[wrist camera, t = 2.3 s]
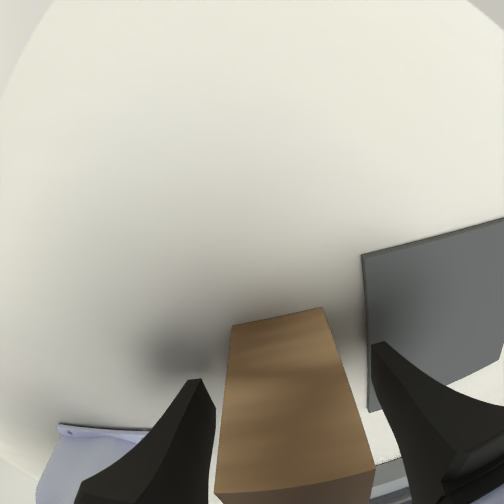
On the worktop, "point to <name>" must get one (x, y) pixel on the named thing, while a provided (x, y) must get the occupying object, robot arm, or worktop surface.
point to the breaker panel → (390, 484)
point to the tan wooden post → (290, 418)
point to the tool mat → (438, 302)
